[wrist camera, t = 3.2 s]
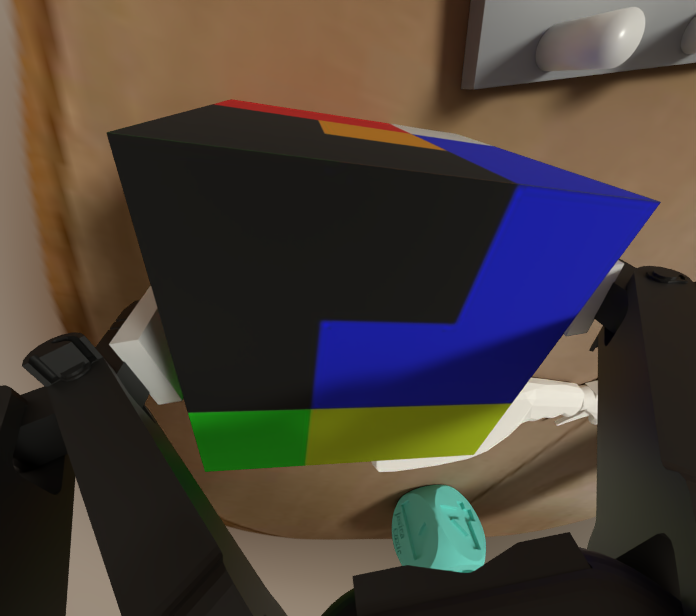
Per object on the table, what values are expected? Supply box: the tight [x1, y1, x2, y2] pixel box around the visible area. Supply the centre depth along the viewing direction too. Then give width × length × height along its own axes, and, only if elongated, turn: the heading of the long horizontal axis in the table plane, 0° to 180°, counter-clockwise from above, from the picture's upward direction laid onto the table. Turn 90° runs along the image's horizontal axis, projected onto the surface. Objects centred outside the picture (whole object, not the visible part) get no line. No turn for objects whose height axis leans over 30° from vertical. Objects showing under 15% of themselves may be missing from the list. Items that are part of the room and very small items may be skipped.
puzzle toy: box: [107, 99, 661, 472], centre depth 12 cm, size 10×10×10 cm
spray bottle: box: [371, 378, 598, 472], centre depth 28 cm, size 3×11×24 cm
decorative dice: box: [392, 485, 486, 573], centre depth 37 cm, size 8×8×8 cm
